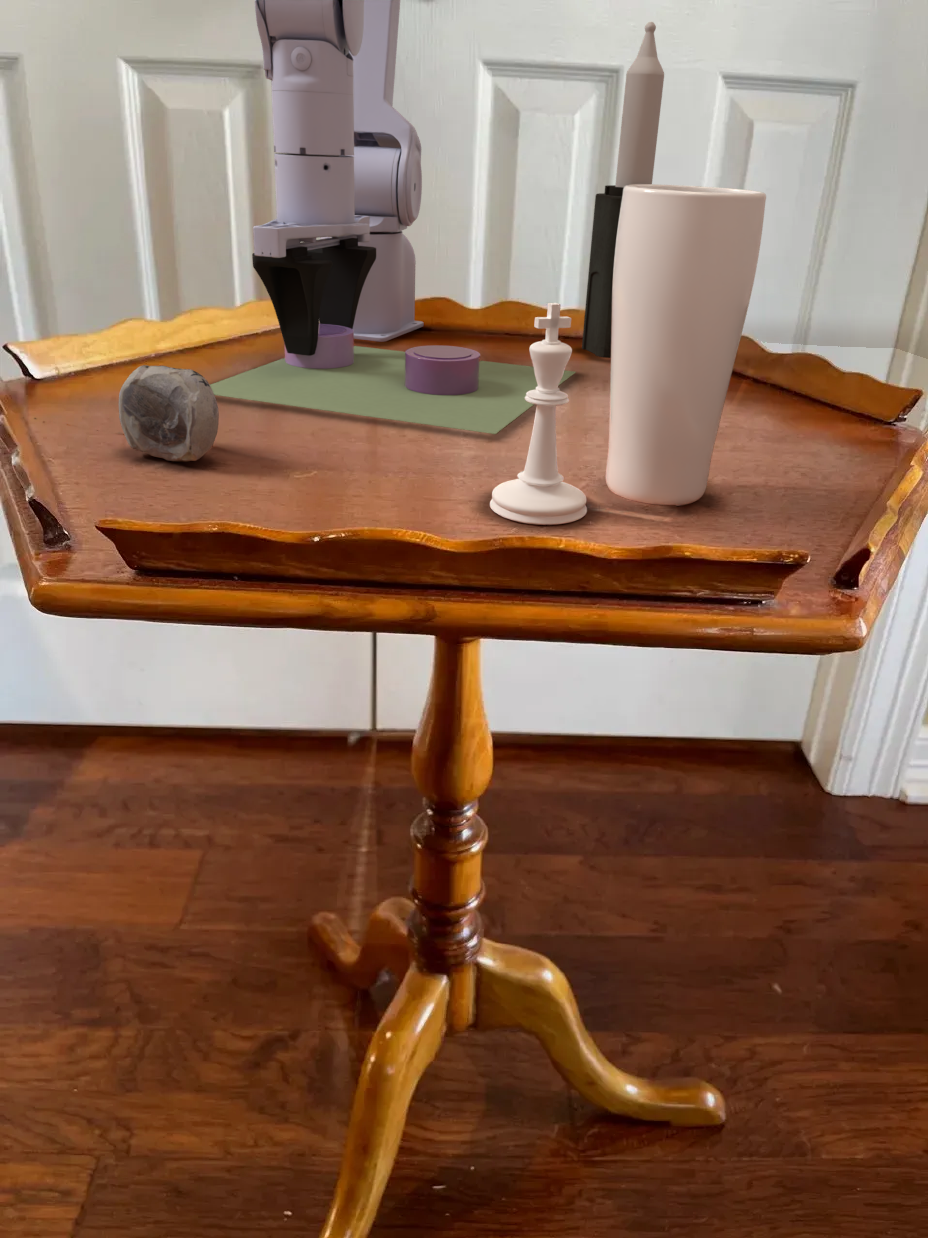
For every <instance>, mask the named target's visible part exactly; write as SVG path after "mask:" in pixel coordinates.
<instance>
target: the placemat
mask: <svg viewBox="0 0 928 1238" xmlns="http://www.w3.org/2000/svg"><path fill="white" fill-rule="evenodd" d="M576 373H577V371H575V370H564V373H563V376H562V379H561V381H560V383H559V385H558V387H559V386H561V385H562V384H563V383H564V382H566V381H567V380H569V378H571V377H572V376H574V375H576ZM209 384H210V386H211V389H212V391H213V393H214V395H215V396H218V397H224V398H231V399H239V400H247V401H253V402H260V403H266V404H267V403H268V404H275V405H282V406H289V407H297V408H302V409H303V408H304V409H310V410H311V409H312V410H317V411H325V412H331V413H340V414H346V415H354V416H360V417H361V416H362V417H368V418H375V419H380V420H381V419H382V420H390V421H396V422H397V421H398V422H403V423H410V424H418V425H425V426H431V427H440V428H447V429H452V430H453V429H454V430H462V431H469V432H475V433H482V434H490V435H497V434H498V433H499V432H501V431H502V430H504V429H505V428H506V427H507V426H509V425H510V424H511V423H512V422H514V421H515V420H516V419H517V418H519V417H520V416H522V415H523V414H525V413H526V412H527V411H528V410H530V409H531V408H532V407H533V406H535V404H532V403H529V402H527V401H526V400H525V396H526V393H527V392H528V391H530V390H535V389H536V387H537V386H538V384H537V381H536V377H535V373H534V367H533V366H530V365H523V364H522V365H521V364H512V363H505V362H496V361H487V360H480V372H479V388H478V390H477V391H475V392H472V393H468V394H461V395H432V394H424V393H419V392H415V391H412V390H409V389H408V388H406V387H405V351H403V350H394V349H385V348H376V347H369V346H368V347H367V346H359V345H354V363H353V364H351V365H349V366H345V367H340V368H329V369H314V368H302V367H296V366H292V365H289V364H287V363H286V362H285V357H283V358H280V359H277V360H274V361H271V362H269V363H266V364H263V365H260V366H258V367H255V368H252V369H249V370H246V371H243V372H241V373H238V374H236V375H233V376H230V377H227V378H225V379H222V380H219V381H216V382H214V383H209Z"/></svg>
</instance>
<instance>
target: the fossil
mask: <svg viewBox="0 0 928 1238" xmlns="http://www.w3.org/2000/svg"><path fill="white" fill-rule="evenodd" d="M210 384H211V383H209V381H208V380H207V379H206V378H205V377H204V376H203V375H202V374H200V373H199V372H197V371H195V370H193V369H190V368H188V369H187V368H177V367H171V366H167V365H148V364H147V365H146V364H143V365H140V366H138V367H137V368H135V369H134V370H133V371H131V373H130V374H129V376H128V377H127V378H126V380H125V381H124V382H123V384H122V385H121V388H120V389H119V390H120V391H119V394H118V418H119V423H120V426H121V429H122V432H123V434H124V437H125V439H126V442H127V445H129V447H130V448H131V449H132V450H135V451H139V452H143V453H145V454H148V455H149V456H152V457H154V458H160V459H163V460H165V461H171V462H190V461H193V462H195V461H198V460H199V459H201V458H202V457H203V456H204V455H206V453H207V452H208V451H209V450H210V449H211V448H212V446H213V445H214V443H215V441H216V438H217V435H218V433H219V431H218V430H219V421H220V420H219V419H220V411H219V405H218V401H217V399H216V395H214V393H213V391H212V389H211V386H210Z"/></svg>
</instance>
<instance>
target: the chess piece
mask: <svg viewBox="0 0 928 1238" xmlns="http://www.w3.org/2000/svg"><path fill="white" fill-rule="evenodd" d="M546 311H547V312H546V316H537V317H536V316H535V317H534V326H533V327H534V328H536V329H537V330H538V329H539V330H540V329H545V336H544V338H545V339H542V340H540V341H535V342H533V343H532V344H531V345H529V349H528V350H529V356H530V359H531V363H532V367H534V373H535V377H536V381H537V384H538V386H537V387H536V389H535V390H530V391H528V392H527V393H526V396H525V400H526V401H527V402H529V403H532V404H534V405H536V406H535V414H534V420H533V426H532V430H531V437H530V441H529V445H528V451H527V456H526V461H525V464H524V468H523V470H521V471H520V472H518V473H517V475H516V477H517V478H515V479H510V480H506V481H504V482H502V483H500V484H498V485H496V486H495V487H494V488H493V489H492V492H491V499H490V501H489V507H490V509H491V511H493V512H494V513H495V514H496V515H498V516H500V517H502V518H504V519H507V520H510V521H513V522H518V523H522V524H529V525H539V526H540V525H541V526H542V525H543V526H546V525H547V526H552V525H553V526H555V525H562V524H569V523H573V522H576V521H579V520H581V519H582V518H584V516H586V515H587V513H588V507H587V505H586V504H587V496H586V494H585V493H584V491H582V490H581V489H580V488H578V487H576V486H574V485H572V484H570V483H568V482H565V481H564V480H565V478H564V477H565V476H563V475H562V473H560V472H559V467H558V451H557V414H556V413H557V410H556V409H557V407H559V406H564V405H566V404H568V403H569V401H570V399H569V398H568V397H569V395H568V394H567V392H564V391H561V390H560V389H561V388H559V386H560V385H559V383H560V381H561V379H562V376H563V373H564V370H565V369H566V368H567V365H568V363H569V361H570V359H571V356H572V353H573V348H572V347H571V346H570V345H569V344H568V343H565V342H562V341H561V340H560V339H559V329H568V328H569V329H570V328H571V327H572V317H569V316H561V304H560V303H558V302H548V303H547V310H546ZM565 371H566V370H565ZM558 385H559V386H558Z"/></svg>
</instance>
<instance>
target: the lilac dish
mask: <svg viewBox="0 0 928 1238" xmlns="http://www.w3.org/2000/svg"><path fill="white" fill-rule="evenodd" d="M354 346H355V339H354V330H353V329H351V328H348V327H345V326H339V325H330V324H319V331H318V342H317V347H316V351H315V354H314V355H311V356H307V355H299V354H291V353H287V350H286V347H285V343H284V342H283V347H284V348H283V349H284V350H283V351H284V352H283V353H284V358H285V362H286V363H287V364H289V365H292V366H296V367H302V368H314V369H329V368H340V367H345V366H349V365H351V364H353V363H354Z"/></svg>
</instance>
